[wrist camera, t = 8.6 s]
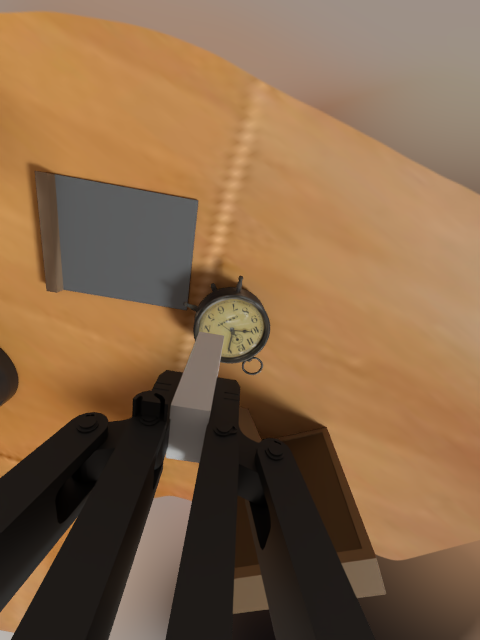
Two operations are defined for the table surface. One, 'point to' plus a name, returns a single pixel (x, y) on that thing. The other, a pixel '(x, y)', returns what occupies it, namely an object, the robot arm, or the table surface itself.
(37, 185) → the stop strip
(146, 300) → the mat
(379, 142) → the table surface
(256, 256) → the table surface
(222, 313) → the alarm clock
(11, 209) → the table surface
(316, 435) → the photo frame
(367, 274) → the table surface
